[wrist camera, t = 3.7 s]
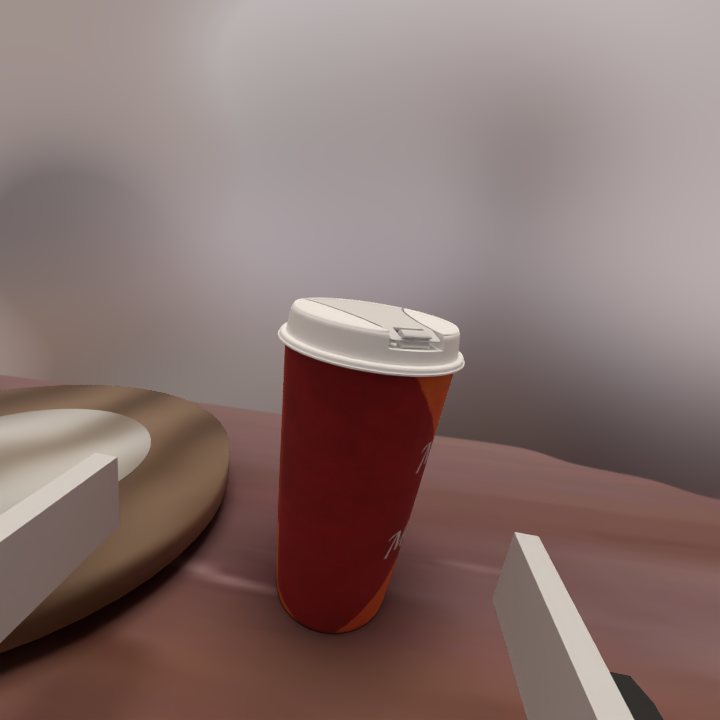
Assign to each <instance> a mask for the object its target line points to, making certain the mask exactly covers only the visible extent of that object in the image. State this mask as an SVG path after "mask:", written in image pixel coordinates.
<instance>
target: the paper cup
mask: <svg viewBox="0 0 720 720" xmlns="http://www.w3.org/2000/svg"><path fill="white" fill-rule="evenodd" d="M402 310H403V311H402ZM278 337H279V339H280V341H281V342H283V343H284V344H285V361H284V383H283V406H282V407H283V408H282V429H281V452H280V475H279V500H278V526H277V560H276V579H277V590H278V595H279V598H280V601H281V603H282V605H283V606H284V608H285V609H286V611H287V612H288V613H289V614H290V616H291V617H293V618H294V619H295V620H296V621H297V622H299V623H300V624H302V625H303V626H305V627H307V628H309V629H312V630H315V631H318V632H323V633H344V632H349V631H352V630H355V629H357V628H359V627H361V626H363V625H364V624H366V623H367V622H368V621H370V620H371V619H372V618H373V617H374V615H375V614H376V613H377V611H378V609H379V608H380V606H381V604H382V601H383V599H384V596H385V593H386V591H387V588H388V585H389V582H390V579H391V576H392V572H393V569H394V566H395V563H396V560H397V557H398V553H399V550H400V547H401V544H402V541H403V537H404V534H405V531H406V528H407V524H408V521H409V518H410V515H411V511H412V508H413V505H414V501H415V498H416V495H417V492H418V488H419V485H420V482H421V478H422V475H423V472H424V469H425V465H426V462H427V459H428V455H429V452H430V449H431V445H432V442H433V439H434V435H435V432H436V429H437V426H438V422H439V419H440V415H441V412H442V409H443V406H444V402H445V399H446V396H447V392H448V389H449V386H450V383H451V379H452V376H453V373H456V372H458V371H460V370H461V369H462V368H463V367H464V358H463V355H462V354H461V353H460V352H459V342H460V332H459V329H458V327H457V326H456V325H454V324H452V323H451V322H449V321H446V320H443V319H441V318H438V317H435V316H432V315H428V314H425V313H422V312H418V311H413V310H409V309H405V308H404V309H403V308H400V307H396V306H390V305H385V304H379V303H373V302H367V301H359V300H350V299H339V298H303V299H299V300H296V301H295V302H294V304H293V305H292V307H291V310H290V314H289V318H288V322H287V323H285V324H283V325H282V326H281V328H280V329H279V331H278Z"/></svg>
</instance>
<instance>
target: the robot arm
mask: <svg viewBox="0 0 720 720" xmlns="http://www.w3.org/2000/svg"><path fill="white" fill-rule="evenodd" d="M119 526H120V520H119V489H118V459H117V457H115V456H110V455H105V454H99V453H94V454H93V455H91V456H90V457H88V458H87V459H85V460H84V461H82V462H80V463H79V464H77V465H76V466H74V467H73V468H71V469H70V470H68V471H67V472H65V473H64V474H62V475H61V476H59V477H58V478H56V479H55V480H53V481H52V482H50V483H49V484H47V485H46V486H44V487H42V488H41V489H39V490H38V491H36V492H35V493H33V494H32V495H30V496H29V497H27V498H26V499H24V500H23V501H21V502H20V503H18V504H17V505H15V506H14V507H12V508H11V509H9V510H8V511H6V512H4V513H3V514H1V515H0V643H1V642H2V641H3V640H4V639H5V638H6V637H7V636H8V635H9V634H10V633H11V632H12V631H13V630H14V629H15V628H16V627H17V626H18V625H19V624H20V623H21V622H22V621H23V620H24V619H25V618H26V617H27V616H28V615H29V614H30V613H31V612H32V611H33V610H34V609H35V608H36V607H37V606H38V605H39V604H40V603H41V602H42V601H43V600H45V599H46V598H47V597H48V596H49V595H50V594H51V593H52V592H53V591H54V590H55V589H56V588H57V587H58V586H59V585H60V584H61V583H62V582H63V581H64V580H65V579H66V578H67V577H68V576H69V575H70V574H71V573H72V572H73V571H74V570H75V569H76V568H77V567H78V566H79V565H80V564H81V563H82V562H83V561H84V560H85V559H86V558H87V557H88V556H89V555H90V554H91V553H92V552H93V551H94V550H95V549H96V548H97V547H98V546H99V545H100V544H101V543H102V542H103V541H104V540H106V539H107V538H108V537H109V536H110V535H111V534H112V533H113V532H114V531H115V530H116V529H117V528H118V527H119ZM492 600H493V603H494V606H495V610H496V613H497V617H498V620H499V624H500V627H501V630H502V634H503V637H504V641H505V644H506V648H507V651H508V654H509V658H510V661H511V665H512V668H513V672H514V675H515V678H516V682H517V685H518V689H519V692H520V695H521V699H522V702H523V706H524V709H525V713H526V716H527V719H528V720H663V718H662V717H661V715H660V713H659V711H658V710H657V708H656V706H655V705H654V703H653V702H652V701H651V700H650V699H649V697H648V696H647V695H646V694H645V693H644V692H643V691H642V689H641V688H640V687H639V686H638V685H637V684H636V683H635V681H634V680H633V679H632V678H631V677H630V676H627V675H622V674H617V673H612V672H609V670H608V669H607V667H606V665H605V663H604V661H603V659H602V657H601V655H600V653H599V651H598V649H597V647H596V646H595V644H594V642H593V640H592V638H591V636H590V634H589V632H588V630H587V628H586V626H585V625H584V623H583V621H582V619H581V617H580V615H579V613H578V611H577V609H576V607H575V605H574V603H573V602H572V600H571V598H570V596H569V594H568V592H567V590H566V588H565V586H564V584H563V582H562V581H561V579H560V577H559V575H558V573H557V571H556V569H555V567H554V565H553V563H552V561H551V560H550V558H549V556H548V554H547V552H546V550H545V548H544V546H543V544H542V542H541V540H540V538H539V537H538V536H533V535H528V534H522V533H517V532H514V534H513V537H512V540H511V543H510V547H509V550H508V553H507V556H506V559H505V562H504V565H503V568H502V571H501V574H500V577H499V580H498V583H497V586H496V589H495V592H494V595H493V598H492Z"/></svg>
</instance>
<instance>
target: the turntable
mask: <svg viewBox="0 0 720 720" xmlns="http://www.w3.org/2000/svg"><path fill="white" fill-rule="evenodd" d="M94 453H99V454H105V455H110V456H115V457H117V459H118V489H119V520H120V526H119V527H118V528H117V529H116V530H115V531H114V532H113V533H112V534H111V535H110V536H109V537H108V538H107V539H106V540H104V541H103V542H102V543H101V544H100V545H99V546H98V547H97V548H96V549H95V550H94V551H93V552H92V553H91V554H90V555H89V556H88V557H87V558H86V559H85V560H84V561H83V562H82V563H81V564H80V565H79V566H78V567H77V568H76V569H75V570H74V571H73V572H72V573H71V574H70V575H69V576H68V577H67V578H66V579H65V580H64V581H63V582H62V583H61V584H60V585H59V586H58V587H57V588H56V589H55V590H54V591H53V592H52V593H51V594H50V595H49V596H48V597H47V598H46V599H45V600H43V601H42V602H41V603H40V604H39V605H38V606H37V607H36V608H35V609H34V610H33V611H32V612H31V613H30V614H29V615H28V616H27V617H26V618H25V619H24V620H23V621H22V622H21V623H20V624H19V625H18V626H17V627H16V628H15V629H14V630H13V631H12V632H11V633H10V634H9V635H8V636H7V637H6V638H5V639H4V640H3V641H2V642H1V643H0V653H2V652H4V651H7V650H10V649H12V648H15V647H18V646H20V645H23V644H26V643H29V642H31V641H34V640H37V639H39V638H41V637H43V636H46V635H48V634H50V633H52V632H54V631H57V630H59V629H61V628H63V627H65V626H67V625H70V624H72V623H74V622H76V621H78V620H81V619H83V618H85V617H86V616H88V615H90V614H92V613H94V612H95V611H97V610H99V609H101V608H103V607H105V606H106V605H108V604H110V603H112V602H114V601H115V600H117V599H119V598H121V597H122V596H124V595H125V594H127V593H129V592H130V591H132V590H133V589H135V588H136V587H138V586H139V585H141V584H142V583H144V582H145V581H147V580H148V579H150V578H151V577H153V576H154V575H155V574H157V573H158V572H159V571H160V570H162V569H163V568H164V567H165V566H167V565H168V564H169V563H170V562H172V561H173V560H174V559H175V558H177V557H178V556H179V555H180V554H181V553H182V552H183V551H184V550H185V549H186V548H187V547H188V546H189V545H190V544H191V543H192V542H193V541H194V540H195V539H196V538H197V537H198V536H199V535H200V534H201V532H202V531H203V530H204V529H205V527H206V526H207V525H208V524H209V522H210V521H211V520H212V518H213V516H214V515H215V513H216V511H217V510H218V508H219V506H220V504H221V502H222V499H223V497H224V494H225V492H226V486H227V481H228V470H229V454H230V448H229V439H228V436H227V433H226V431H225V429H224V427H223V426H222V424H221V423H220V422H219V421H218V420H217V419H216V418H215V417H214V416H213V415H212V414H211V413H209V412H208V411H206V410H205V409H204V408H202V407H200V406H198V405H196V404H194V403H192V402H190V401H187V400H184V399H182V398H179V397H176V396H172V395H169V394H165V393H161V392H156V391H152V390H145V389H138V388H131V387H120V386H105V385H61V386H44V387H31V388H21V389H11V390H4V391H0V515H1V514H3V513H4V512H6V511H8V510H9V509H11V508H12V507H14V506H15V505H17V504H18V503H20V502H21V501H23V500H24V499H26V498H27V497H29V496H30V495H32V494H33V493H35V492H36V491H38V490H39V489H41V488H42V487H44V486H46V485H47V484H49V483H50V482H52V481H53V480H55V479H56V478H58V477H59V476H61V475H62V474H64V473H65V472H67V471H68V470H70V469H71V468H73V467H74V466H76V465H77V464H79V463H80V462H82V461H84V460H85V459H87V458H88V457H90V456H91V455H93V454H94Z"/></svg>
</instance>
